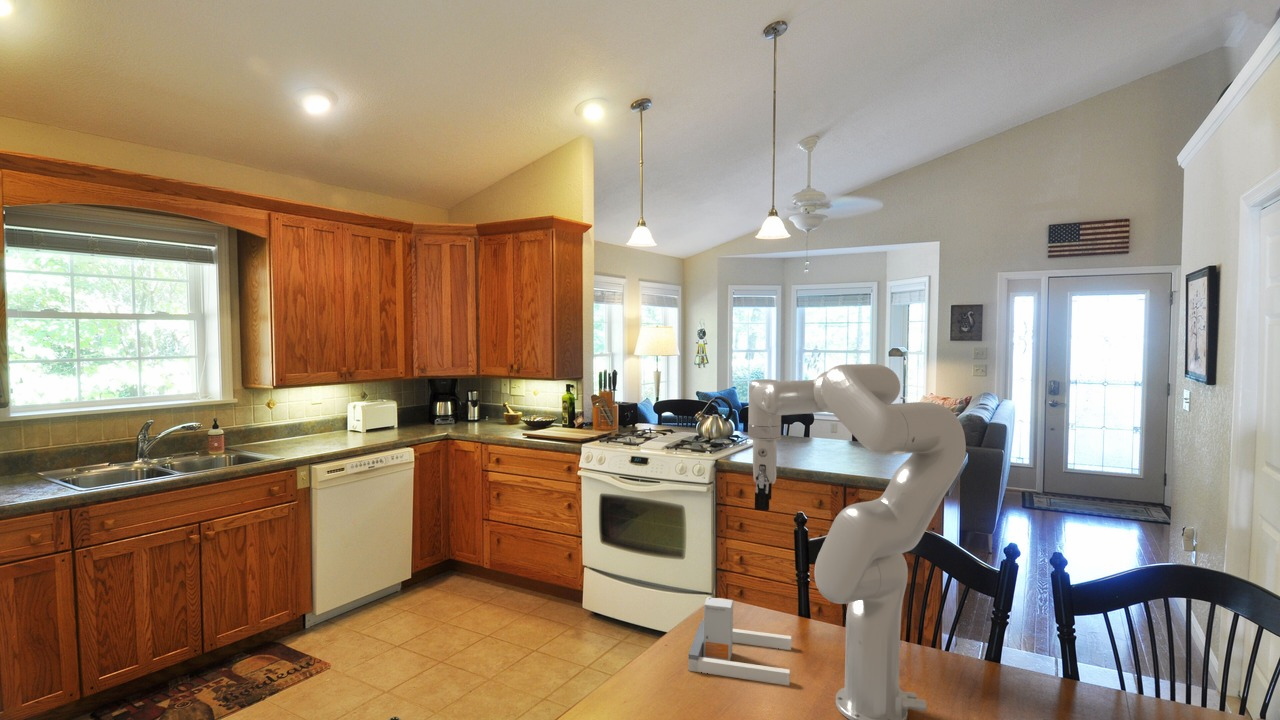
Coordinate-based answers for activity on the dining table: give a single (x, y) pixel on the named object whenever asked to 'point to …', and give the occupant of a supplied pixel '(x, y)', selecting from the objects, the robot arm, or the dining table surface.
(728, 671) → the guide channel
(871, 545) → the robot arm
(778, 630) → the dining table surface
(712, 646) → the skincare box
